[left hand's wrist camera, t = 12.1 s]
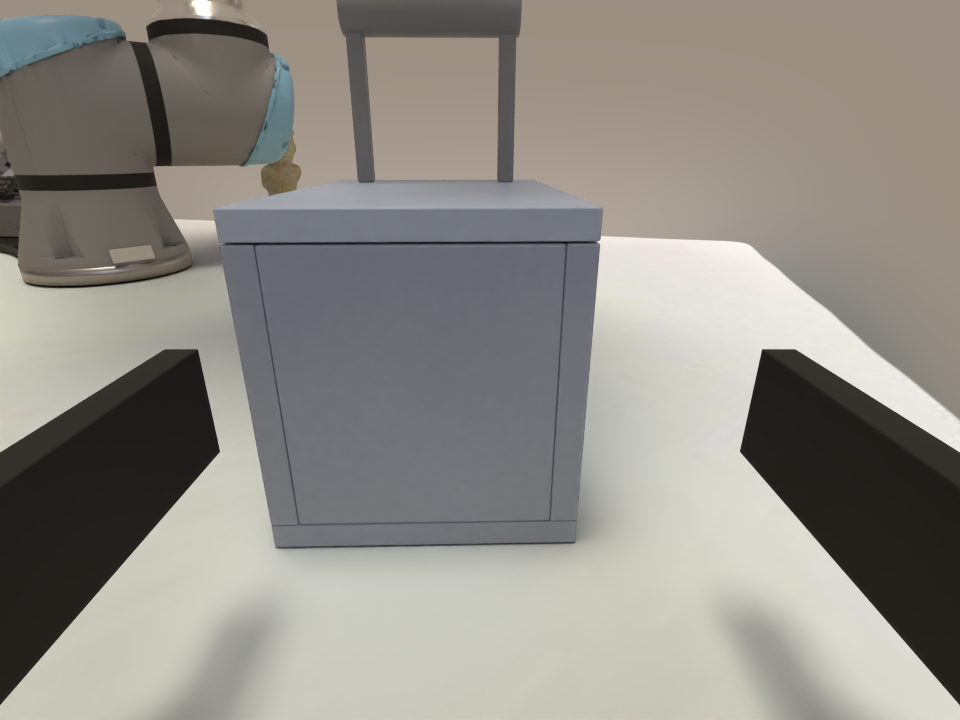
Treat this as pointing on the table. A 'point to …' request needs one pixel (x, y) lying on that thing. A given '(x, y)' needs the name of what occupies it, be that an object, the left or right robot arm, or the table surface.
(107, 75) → the right robot arm
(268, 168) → the sculpture
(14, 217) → the toy
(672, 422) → the table surface
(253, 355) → the chest
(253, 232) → the lid
